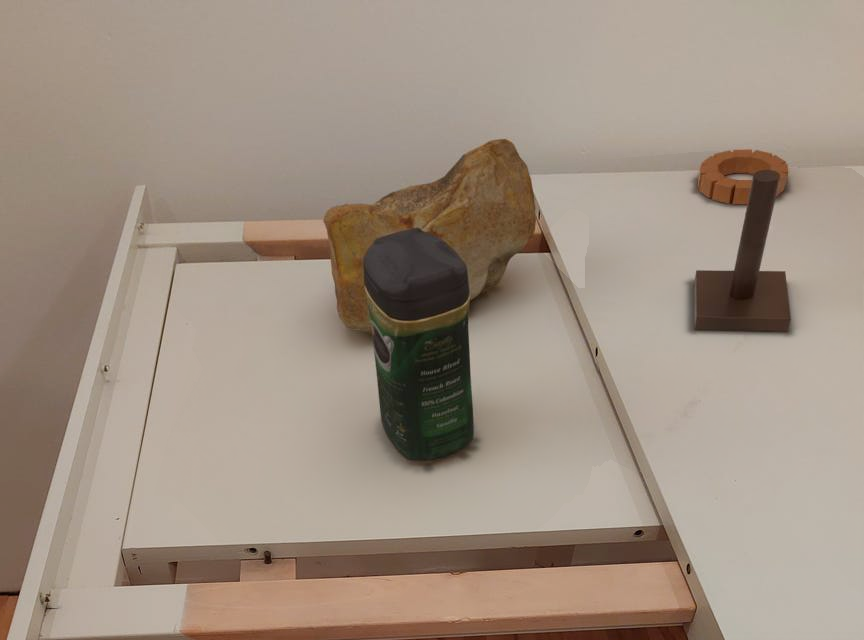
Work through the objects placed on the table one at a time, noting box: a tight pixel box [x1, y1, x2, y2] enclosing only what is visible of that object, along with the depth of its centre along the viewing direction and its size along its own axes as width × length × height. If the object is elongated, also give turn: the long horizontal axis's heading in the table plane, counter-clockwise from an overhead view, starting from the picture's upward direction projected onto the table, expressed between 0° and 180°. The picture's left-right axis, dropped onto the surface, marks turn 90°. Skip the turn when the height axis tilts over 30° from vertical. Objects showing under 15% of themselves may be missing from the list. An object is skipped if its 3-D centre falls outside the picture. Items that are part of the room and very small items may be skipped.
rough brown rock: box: [323, 138, 537, 335], centre depth 100 cm, size 23×17×15 cm
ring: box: [697, 149, 790, 205], centre depth 112 cm, size 10×10×2 cm
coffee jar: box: [363, 228, 475, 462], centre depth 82 cm, size 10×8×19 cm
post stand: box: [693, 170, 792, 333], centre depth 92 cm, size 9×9×14 cm
